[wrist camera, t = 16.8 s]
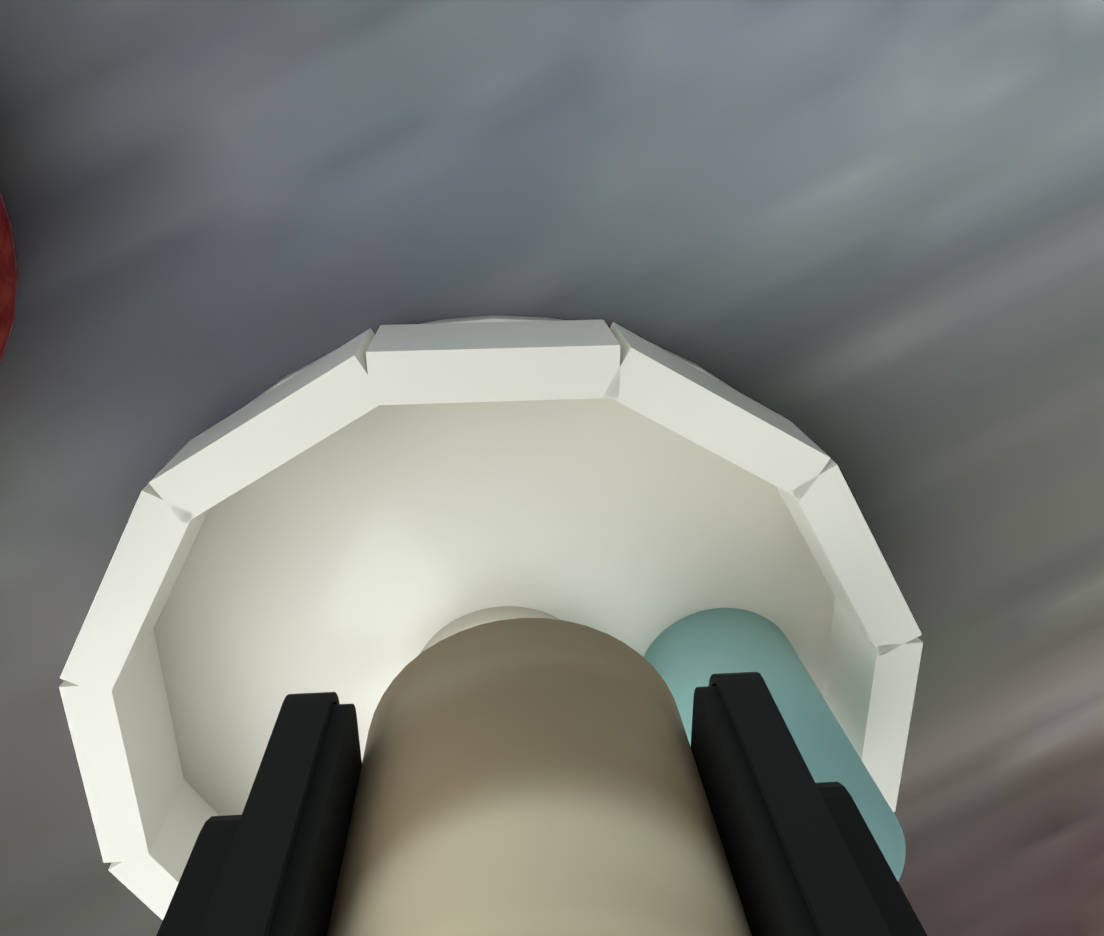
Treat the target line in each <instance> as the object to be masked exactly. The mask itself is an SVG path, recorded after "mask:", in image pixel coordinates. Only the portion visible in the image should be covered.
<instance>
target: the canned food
mask: <svg viewBox="0 0 1104 936" xmlns="http://www.w3.org/2000/svg"><path fill="white" fill-rule="evenodd" d="M17 282H18V271H17V263H16V256H15V248H14V240H13V233H12V226H11V223H10V220H9V217H8V214H7V211H6V208H5V205H4V202H3V199H2V196H1V193H0V363H1V361H2V359H3V356H4V352H5V349H6V346H7V343H8V339H9V336H10V333H11V330H12V327H13V323H14V320H15V308H16V295H17Z"/></svg>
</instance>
